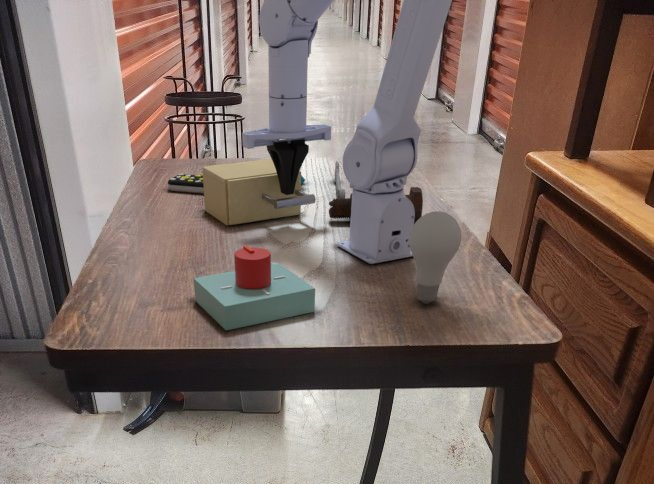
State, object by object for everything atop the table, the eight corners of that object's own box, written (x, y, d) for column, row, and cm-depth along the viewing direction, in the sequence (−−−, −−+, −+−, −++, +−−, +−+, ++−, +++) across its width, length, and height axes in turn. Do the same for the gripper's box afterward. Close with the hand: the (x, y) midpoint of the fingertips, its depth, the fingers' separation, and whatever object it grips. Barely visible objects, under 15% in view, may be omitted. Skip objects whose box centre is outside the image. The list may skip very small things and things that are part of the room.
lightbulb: (444, 293, 87) (458, 204, 80) (455, 312, 82) (471, 219, 75) (397, 293, 86) (408, 205, 80) (406, 312, 82) (418, 220, 75)
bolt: (328, 231, 113) (417, 227, 112) (330, 223, 108) (422, 220, 107) (327, 194, 112) (417, 191, 111) (329, 185, 107) (423, 182, 106)
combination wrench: (346, 188, 115) (341, 159, 130) (338, 188, 115) (334, 159, 130) (344, 211, 117) (340, 179, 133) (337, 210, 117) (333, 179, 133)
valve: (277, 285, 81) (277, 253, 78) (244, 291, 79) (243, 259, 77) (261, 273, 84) (261, 242, 81) (229, 279, 82) (228, 247, 80)
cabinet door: (317, 223, 109) (318, 179, 105) (245, 234, 105) (243, 189, 100) (299, 213, 114) (299, 171, 109) (229, 224, 109) (227, 180, 105)
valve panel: (314, 311, 82) (315, 287, 80) (226, 330, 78) (224, 305, 76) (278, 284, 89) (278, 261, 87) (195, 301, 85) (193, 276, 83)
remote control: (227, 196, 123) (227, 185, 122) (165, 191, 126) (164, 179, 125) (239, 188, 128) (239, 177, 126) (179, 183, 131) (178, 172, 129)
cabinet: (299, 214, 114) (299, 169, 110) (226, 225, 109) (224, 179, 105) (274, 200, 121) (274, 158, 116) (205, 210, 116) (202, 166, 112)
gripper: (317, 89, 104) (314, 182, 113) (232, 95, 99) (236, 192, 107) (340, 95, 99) (335, 192, 108) (252, 102, 94) (254, 203, 103)
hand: (287, 193), depth 107 cm, fingers closed
